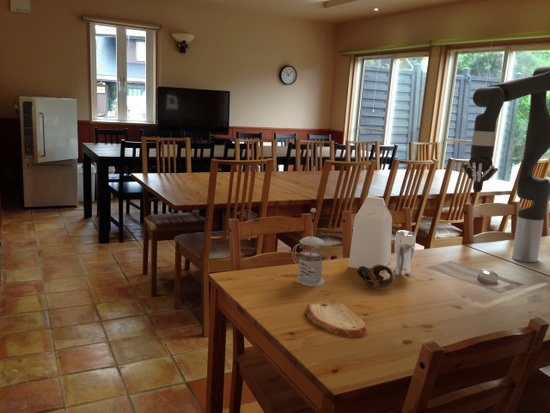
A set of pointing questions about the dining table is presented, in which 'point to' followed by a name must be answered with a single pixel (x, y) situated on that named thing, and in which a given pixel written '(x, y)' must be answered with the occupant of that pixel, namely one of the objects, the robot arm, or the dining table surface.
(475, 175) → the robot arm
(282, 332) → the dining table surface
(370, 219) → the milk
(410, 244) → the beer glass
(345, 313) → the bread slice
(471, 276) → the grey flat slab
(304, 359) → the dining table surface
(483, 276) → the glossy grey dome
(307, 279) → the french press
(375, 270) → the dark brown twisted loop
